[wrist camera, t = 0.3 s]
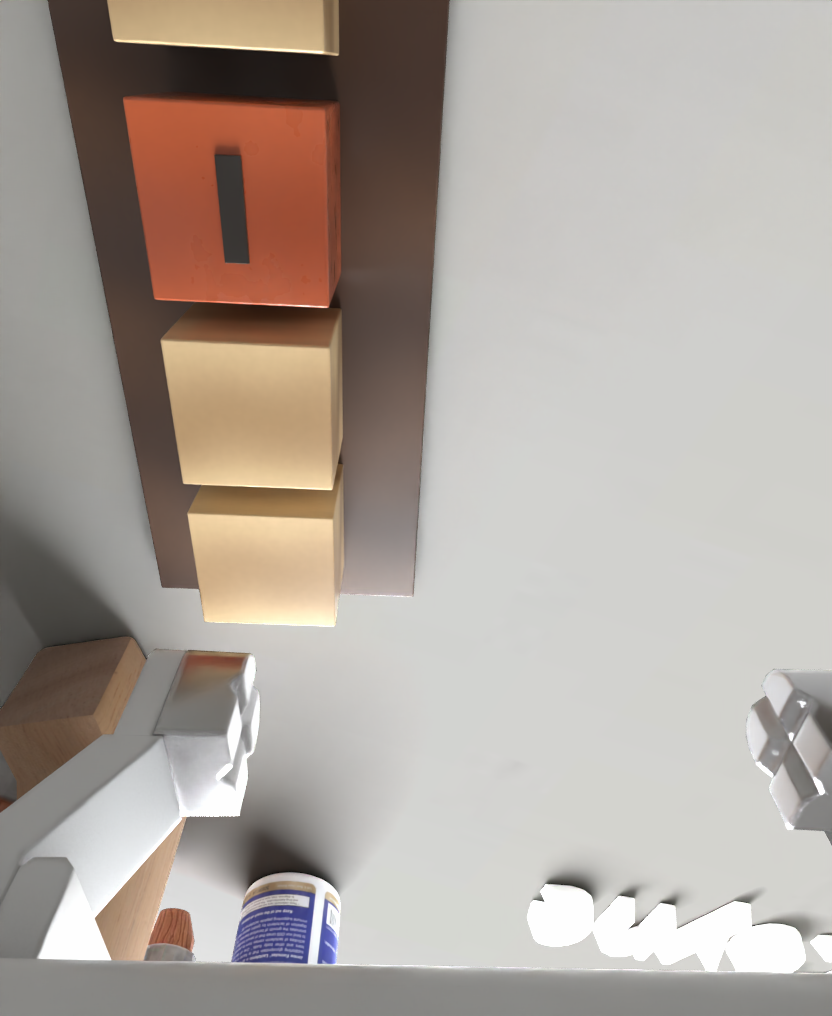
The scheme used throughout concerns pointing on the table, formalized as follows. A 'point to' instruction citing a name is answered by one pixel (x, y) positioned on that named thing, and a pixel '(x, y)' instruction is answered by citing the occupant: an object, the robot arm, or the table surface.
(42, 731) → the wooden block
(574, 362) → the table surface
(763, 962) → the text logo
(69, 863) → the robot arm
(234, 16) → the dark brown board
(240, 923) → the pill bottle
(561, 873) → the table surface
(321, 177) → the red minus sign cube
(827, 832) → the lantern
